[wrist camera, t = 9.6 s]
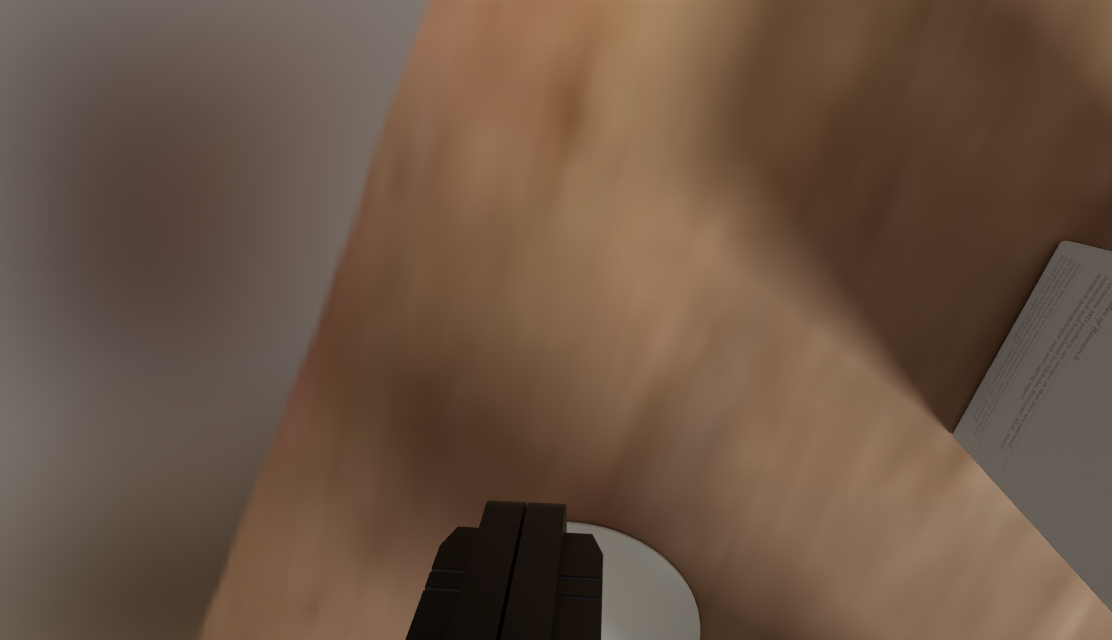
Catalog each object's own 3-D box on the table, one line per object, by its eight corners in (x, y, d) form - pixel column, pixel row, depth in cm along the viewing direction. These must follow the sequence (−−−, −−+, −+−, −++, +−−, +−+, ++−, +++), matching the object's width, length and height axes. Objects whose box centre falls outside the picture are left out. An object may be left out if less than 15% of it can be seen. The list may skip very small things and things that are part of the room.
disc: (711, 528, 29) (711, 531, 29) (689, 724, 34) (690, 728, 34) (431, 514, 30) (430, 517, 30) (449, 706, 35) (448, 710, 35)
